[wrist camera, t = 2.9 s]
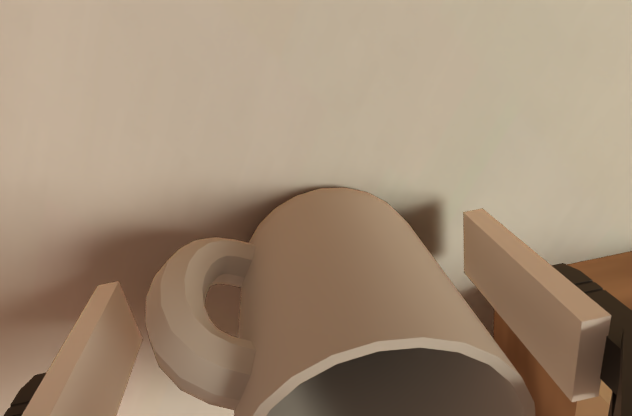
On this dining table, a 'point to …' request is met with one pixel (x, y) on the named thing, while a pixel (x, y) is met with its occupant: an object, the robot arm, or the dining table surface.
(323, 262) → the cup
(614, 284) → the walnut block
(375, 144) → the dining table surface
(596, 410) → the beech block
